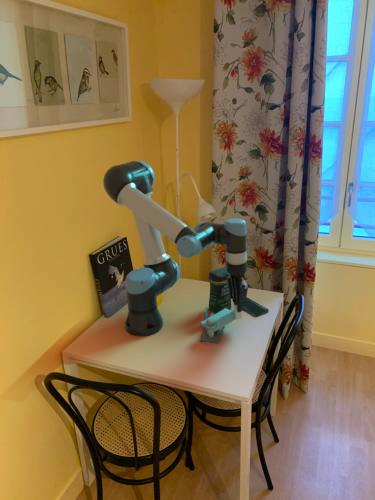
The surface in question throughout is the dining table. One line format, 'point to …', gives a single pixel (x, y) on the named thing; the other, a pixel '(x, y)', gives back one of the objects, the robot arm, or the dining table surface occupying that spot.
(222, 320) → the cover
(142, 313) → the robot arm
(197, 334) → the dining table surface
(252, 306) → the phone
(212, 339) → the slotted block with rod
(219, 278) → the coffee jar
